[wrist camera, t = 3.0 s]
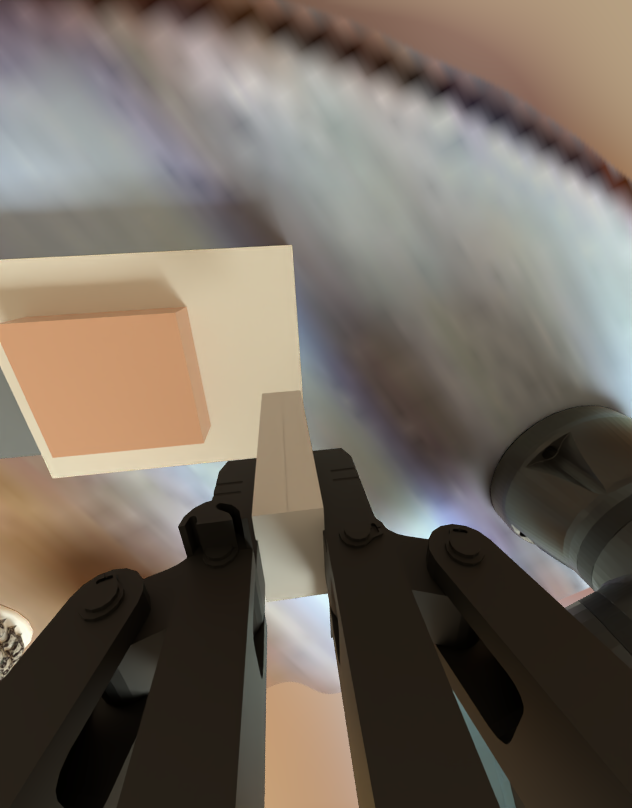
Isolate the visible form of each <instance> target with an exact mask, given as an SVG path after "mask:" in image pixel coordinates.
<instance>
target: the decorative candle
mask: <svg viewBox="0 0 632 808" xmlns="http://www.w3.org/2000/svg"><path fill="white" fill-rule="evenodd" d="M32 634H33V629H32V627H31V625H30V623H29V621H28V620H27V619H26V618H24V617H23V616H22V615H21V614H19V613H18V612H17V611H14V610H12V609H10V608H7V607H5V606H2V605H0V682H1V681H2V679H3V678H4V677H5V676H6V675H7V673H8V672H9V671H10V670H11V669H12V667H13V665H14V664H16V663H17V661H18V660H19V659H20V658H21V656H22V653H23V651H24V648H25V647H26V646H27V645H28V644H29V643H30V641H31V639H32Z"/></svg>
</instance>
